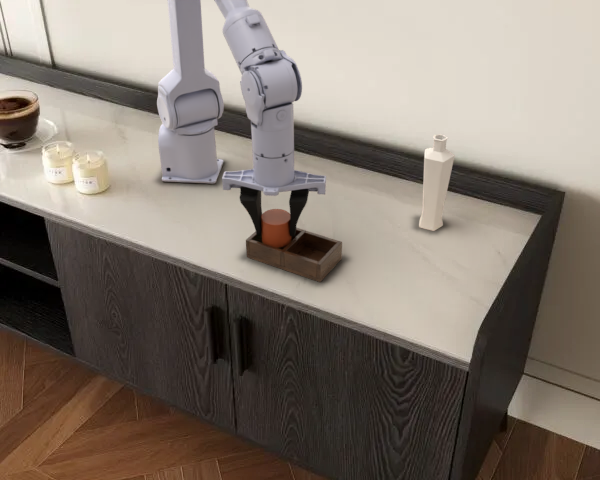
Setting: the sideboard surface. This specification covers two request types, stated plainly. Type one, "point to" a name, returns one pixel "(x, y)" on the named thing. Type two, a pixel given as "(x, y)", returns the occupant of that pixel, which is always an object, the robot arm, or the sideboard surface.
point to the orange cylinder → (276, 228)
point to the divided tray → (298, 254)
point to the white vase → (435, 182)
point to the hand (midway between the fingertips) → (276, 231)
